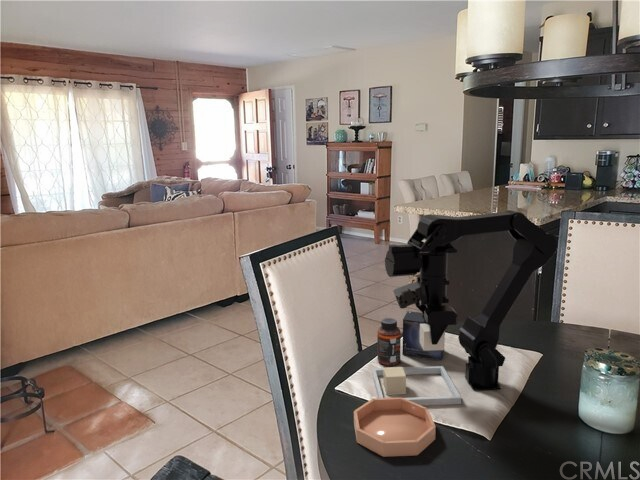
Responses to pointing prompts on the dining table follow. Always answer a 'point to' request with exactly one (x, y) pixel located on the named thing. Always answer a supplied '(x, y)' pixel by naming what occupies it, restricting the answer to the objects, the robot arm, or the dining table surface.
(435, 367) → the tray
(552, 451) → the dining table surface
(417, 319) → the small box
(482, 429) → the dining table surface
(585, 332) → the dining table surface
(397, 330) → the supplement bottle
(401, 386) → the sand stone
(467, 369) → the robot arm
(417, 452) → the bowl
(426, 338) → the pale stone
